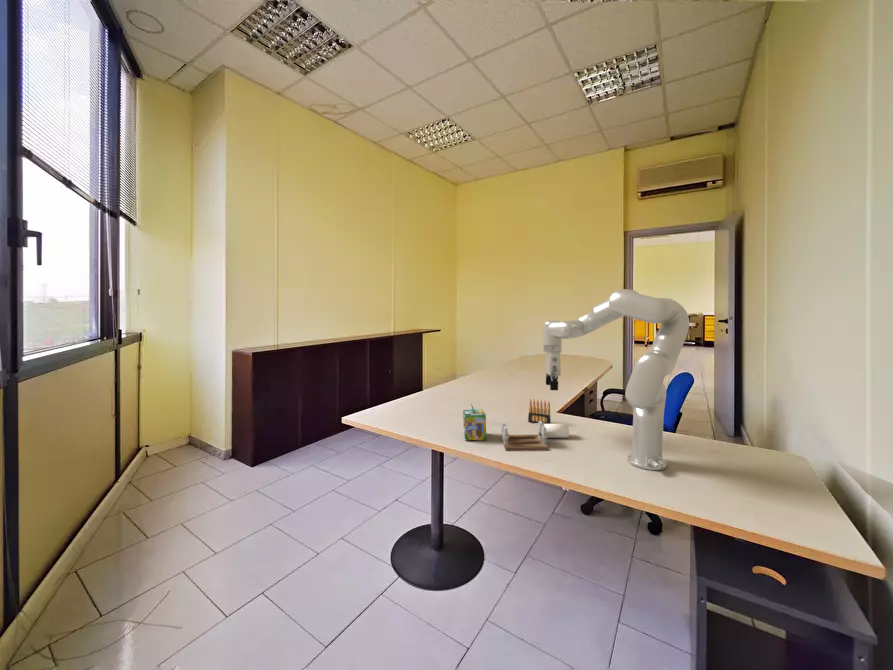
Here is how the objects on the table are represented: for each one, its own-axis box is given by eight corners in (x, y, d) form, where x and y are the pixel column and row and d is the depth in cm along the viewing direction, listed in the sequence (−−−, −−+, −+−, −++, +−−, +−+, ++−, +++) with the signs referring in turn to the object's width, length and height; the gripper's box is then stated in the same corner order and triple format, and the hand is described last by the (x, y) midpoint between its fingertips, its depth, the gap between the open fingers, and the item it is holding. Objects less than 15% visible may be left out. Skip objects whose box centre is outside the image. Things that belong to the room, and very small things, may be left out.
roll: (569, 439, 151) (569, 426, 151) (543, 440, 151) (543, 426, 151) (564, 434, 157) (565, 421, 156) (539, 435, 157) (539, 422, 157)
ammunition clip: (528, 422, 174) (528, 398, 173) (528, 421, 175) (529, 397, 174) (549, 425, 169) (550, 401, 168) (550, 424, 170) (551, 400, 169)
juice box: (486, 440, 151) (486, 407, 150) (465, 441, 151) (465, 408, 149) (483, 433, 160) (482, 401, 159) (463, 433, 160) (462, 402, 159)
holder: (548, 450, 140) (548, 430, 139) (505, 450, 140) (505, 430, 140) (539, 437, 154) (539, 419, 153) (500, 437, 154) (500, 419, 154)
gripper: (566, 351, 144) (565, 392, 145) (556, 346, 161) (556, 383, 162) (547, 351, 144) (546, 392, 146) (540, 346, 161) (539, 382, 163)
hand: (551, 387), depth 154 cm, fingers open, 9 cm apart
